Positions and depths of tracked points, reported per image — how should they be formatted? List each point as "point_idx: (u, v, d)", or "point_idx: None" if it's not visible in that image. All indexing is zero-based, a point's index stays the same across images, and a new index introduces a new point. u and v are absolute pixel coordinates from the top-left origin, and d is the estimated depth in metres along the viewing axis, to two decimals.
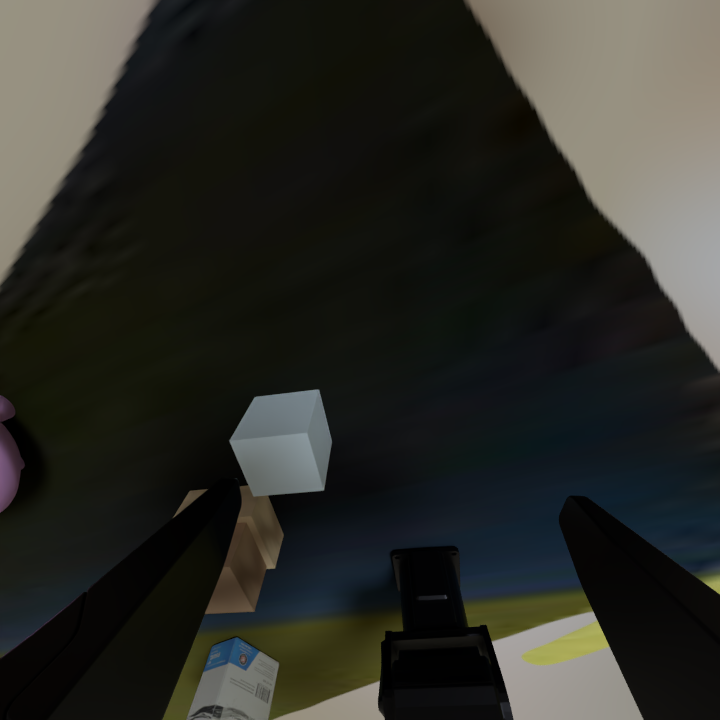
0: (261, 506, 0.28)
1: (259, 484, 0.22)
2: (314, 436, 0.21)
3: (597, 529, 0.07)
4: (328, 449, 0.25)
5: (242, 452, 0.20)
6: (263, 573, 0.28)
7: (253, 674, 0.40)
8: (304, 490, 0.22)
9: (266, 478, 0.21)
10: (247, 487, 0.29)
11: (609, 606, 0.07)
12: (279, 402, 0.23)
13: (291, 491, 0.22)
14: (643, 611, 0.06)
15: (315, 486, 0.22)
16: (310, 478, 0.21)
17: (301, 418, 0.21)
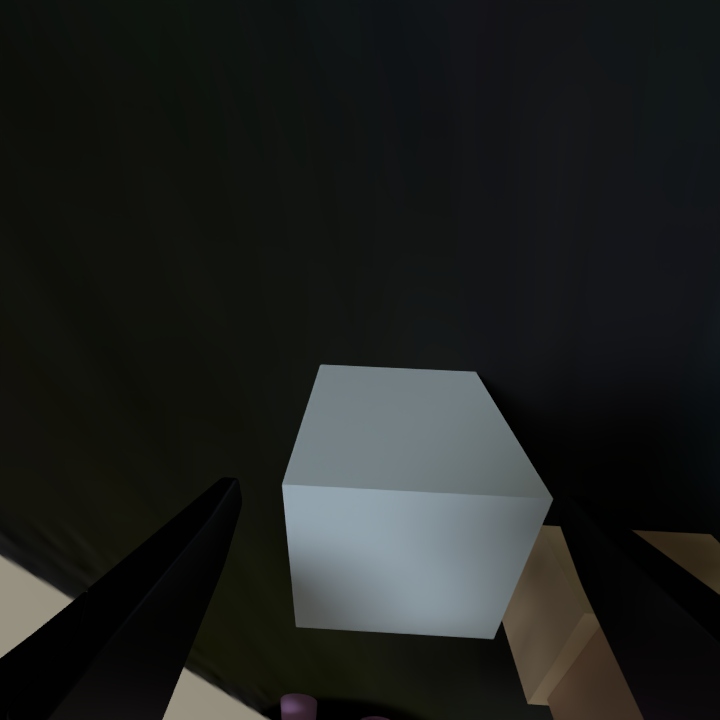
0: None
1: (455, 619, 0.08)
2: (352, 446, 0.07)
3: (597, 529, 0.07)
4: (473, 396, 0.09)
5: (335, 618, 0.08)
6: None
7: None
8: (525, 544, 0.06)
9: (438, 602, 0.07)
10: (532, 550, 0.14)
11: (609, 606, 0.07)
12: None
13: (514, 572, 0.07)
14: (643, 611, 0.06)
15: (521, 516, 0.06)
16: (480, 519, 0.06)
17: None
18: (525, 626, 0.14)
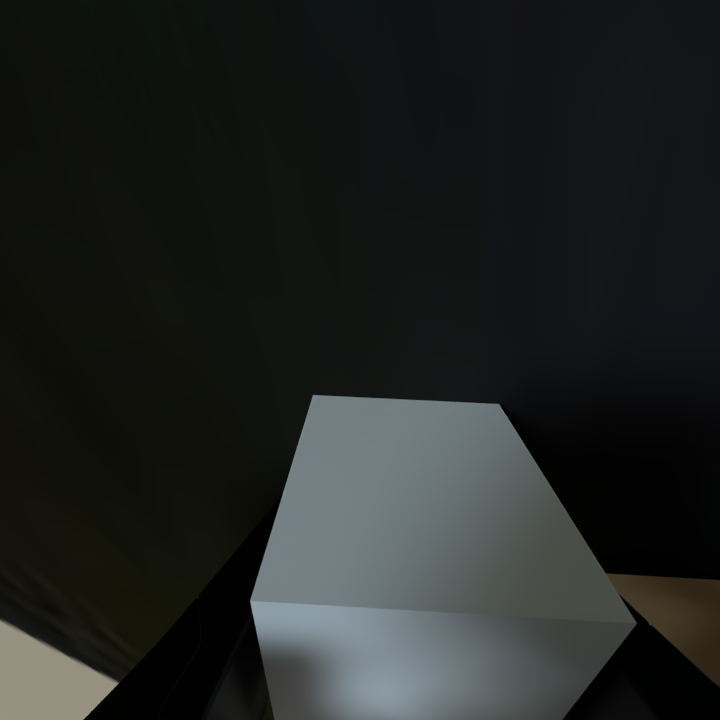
0: None
1: None
2: (350, 528, 0.05)
3: None
4: (501, 442, 0.07)
5: None
6: None
7: None
8: (588, 670, 0.05)
9: None
10: None
11: None
12: None
13: (568, 698, 0.05)
14: None
15: (587, 640, 0.04)
16: (529, 644, 0.04)
17: None
18: None
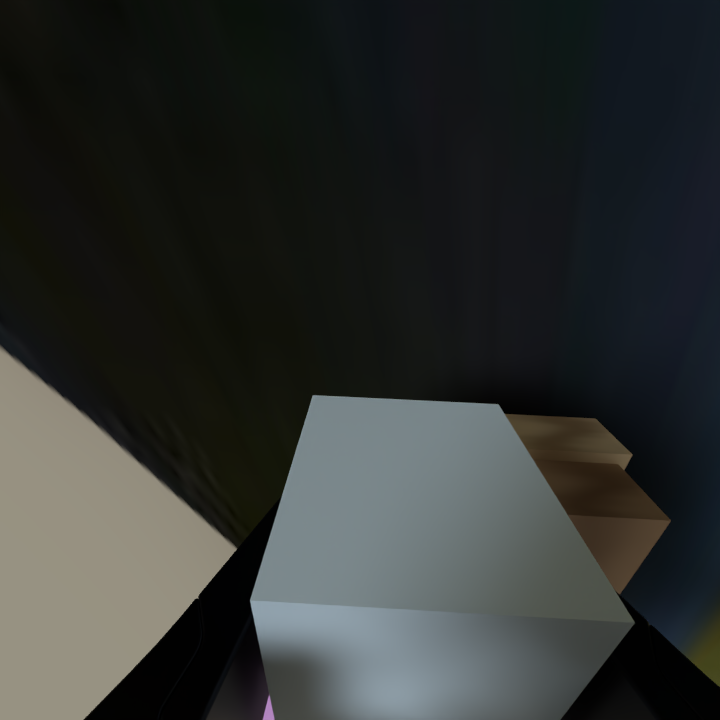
0: None
1: None
2: (350, 528, 0.05)
3: None
4: (500, 442, 0.07)
5: None
6: (622, 474, 0.17)
7: None
8: (587, 669, 0.05)
9: None
10: None
11: None
12: None
13: (567, 698, 0.05)
14: None
15: (587, 640, 0.04)
16: (528, 642, 0.04)
17: None
18: None
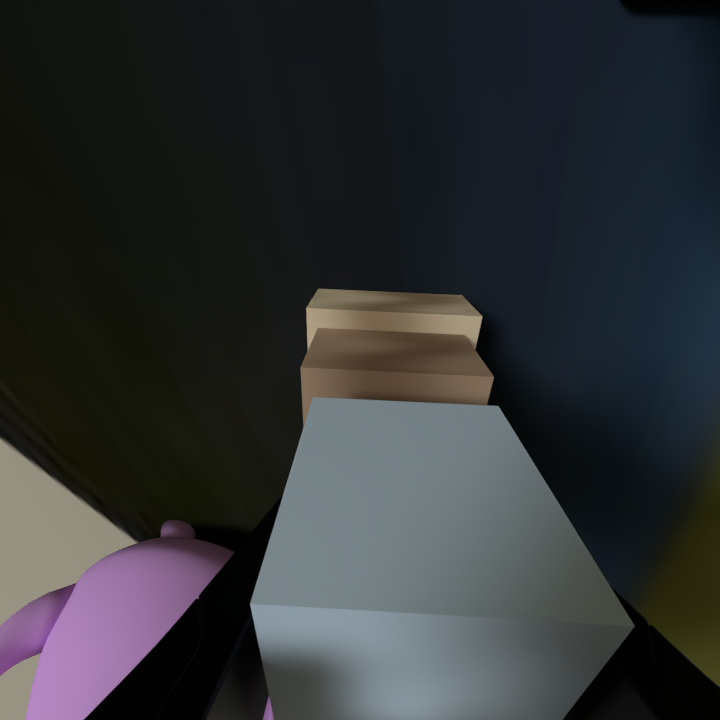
0: (335, 298, 0.14)
1: None
2: (350, 530, 0.05)
3: None
4: (500, 444, 0.07)
5: None
6: (462, 341, 0.12)
7: None
8: (587, 672, 0.05)
9: None
10: None
11: None
12: None
13: (568, 700, 0.05)
14: None
15: (586, 644, 0.04)
16: (528, 646, 0.04)
17: None
18: None
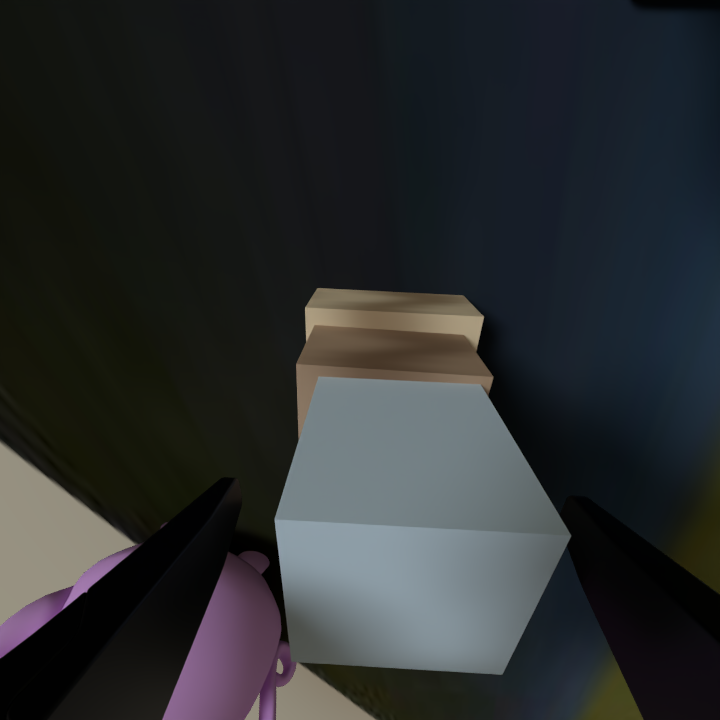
0: (334, 297, 0.14)
1: (461, 655, 0.07)
2: (351, 473, 0.06)
3: (597, 529, 0.07)
4: (479, 413, 0.08)
5: (333, 653, 0.07)
6: (461, 341, 0.12)
7: None
8: (539, 581, 0.06)
9: (444, 639, 0.07)
10: None
11: (609, 606, 0.07)
12: None
13: (526, 609, 0.06)
14: (643, 611, 0.06)
15: (536, 553, 0.06)
16: (491, 555, 0.06)
17: None
18: None
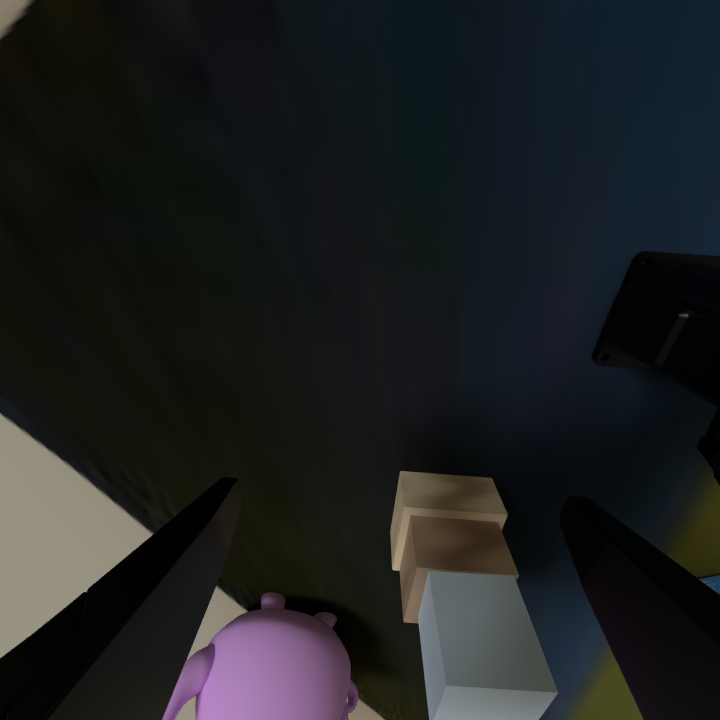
0: (415, 488, 0.23)
1: None
2: (467, 655, 0.15)
3: (597, 529, 0.07)
4: (516, 605, 0.17)
5: None
6: (497, 531, 0.21)
7: None
8: (545, 704, 0.15)
9: None
10: (398, 486, 0.25)
11: (609, 606, 0.07)
12: (425, 619, 0.19)
13: (540, 713, 0.15)
14: (643, 611, 0.06)
15: (545, 697, 0.15)
16: (527, 697, 0.15)
17: (437, 650, 0.16)
18: (394, 529, 0.25)
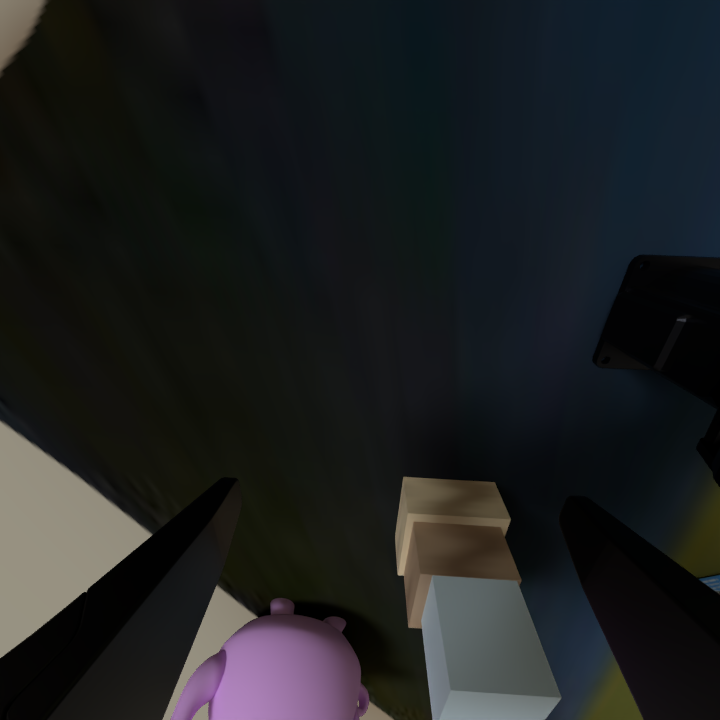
0: (419, 494, 0.23)
1: None
2: (471, 660, 0.16)
3: (597, 529, 0.07)
4: (519, 610, 0.18)
5: None
6: (500, 536, 0.21)
7: None
8: (548, 709, 0.15)
9: None
10: (401, 492, 0.25)
11: (609, 606, 0.07)
12: (428, 623, 0.19)
13: (543, 717, 0.16)
14: (643, 611, 0.06)
15: (548, 701, 0.15)
16: (530, 702, 0.15)
17: (441, 654, 0.16)
18: (399, 534, 0.25)
